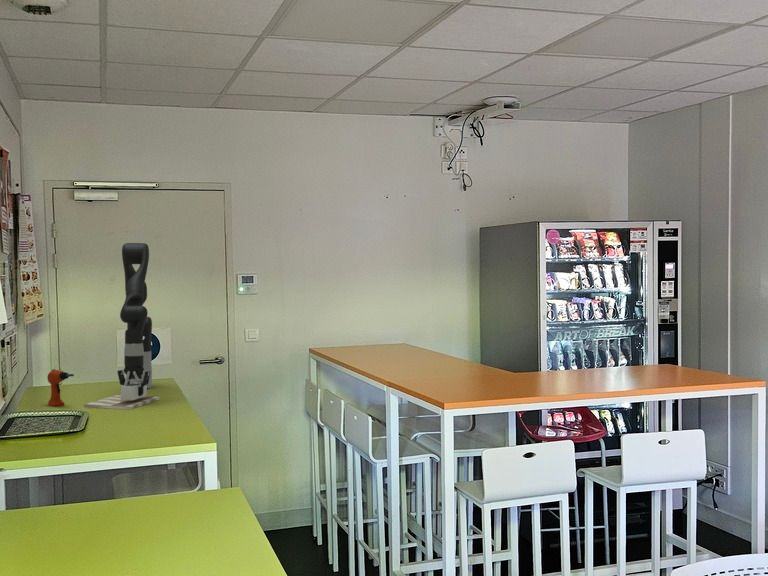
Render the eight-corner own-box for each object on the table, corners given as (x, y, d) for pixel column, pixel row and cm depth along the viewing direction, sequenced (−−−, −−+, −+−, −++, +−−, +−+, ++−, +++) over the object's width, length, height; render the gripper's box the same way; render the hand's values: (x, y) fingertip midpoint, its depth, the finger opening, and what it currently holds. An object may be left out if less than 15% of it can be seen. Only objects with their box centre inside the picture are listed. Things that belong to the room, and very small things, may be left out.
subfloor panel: (116, 397, 333) (116, 394, 333) (159, 399, 329) (159, 396, 329) (84, 407, 309) (84, 404, 309) (129, 409, 305) (129, 406, 305)
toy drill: (69, 406, 303) (66, 368, 304) (45, 407, 315) (43, 370, 315) (81, 404, 306) (78, 367, 307) (57, 405, 318) (54, 369, 319)
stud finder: (136, 395, 324) (136, 381, 324) (146, 395, 323) (146, 382, 323) (120, 400, 313) (120, 385, 312) (132, 400, 312) (132, 386, 311)
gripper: (154, 353, 320) (154, 394, 320) (122, 352, 323) (122, 393, 323) (145, 355, 312) (145, 397, 313) (113, 354, 315) (113, 396, 316)
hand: (134, 395), depth 318 cm, fingers closed on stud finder, 5 cm apart
